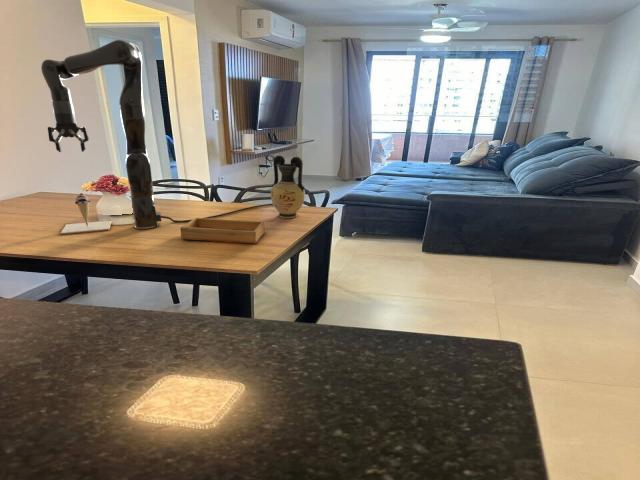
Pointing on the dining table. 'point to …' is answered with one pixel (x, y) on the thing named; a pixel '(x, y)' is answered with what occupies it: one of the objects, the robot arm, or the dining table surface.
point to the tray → (223, 230)
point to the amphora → (287, 187)
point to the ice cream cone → (83, 206)
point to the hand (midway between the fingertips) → (71, 151)
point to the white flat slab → (86, 227)
